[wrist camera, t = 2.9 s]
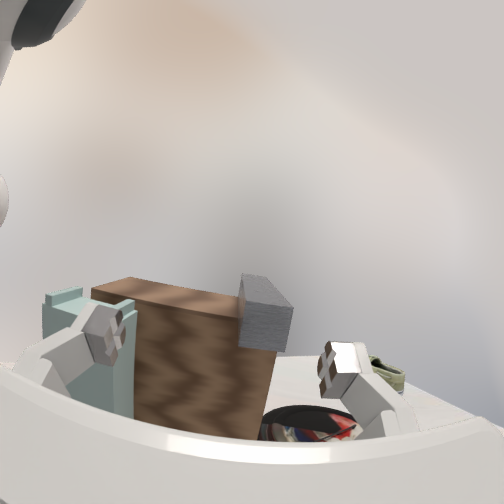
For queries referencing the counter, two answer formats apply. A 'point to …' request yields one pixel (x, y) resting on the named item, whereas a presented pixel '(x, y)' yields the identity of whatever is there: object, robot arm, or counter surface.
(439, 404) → the counter surface
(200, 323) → the brown wooden block
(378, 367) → the boat shoe
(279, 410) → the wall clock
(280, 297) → the bar
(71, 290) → the socket post
